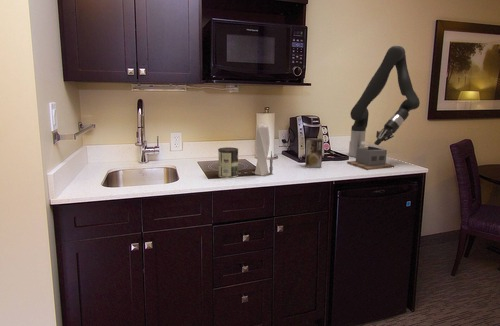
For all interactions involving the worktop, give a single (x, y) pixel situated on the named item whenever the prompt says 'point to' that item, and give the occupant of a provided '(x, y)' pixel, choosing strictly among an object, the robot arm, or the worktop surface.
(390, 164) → the base board
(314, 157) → the coffee box
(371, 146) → the rocker
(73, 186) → the worktop surface
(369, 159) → the switch block
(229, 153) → the coffee can
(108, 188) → the worktop surface
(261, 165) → the skyscraper
